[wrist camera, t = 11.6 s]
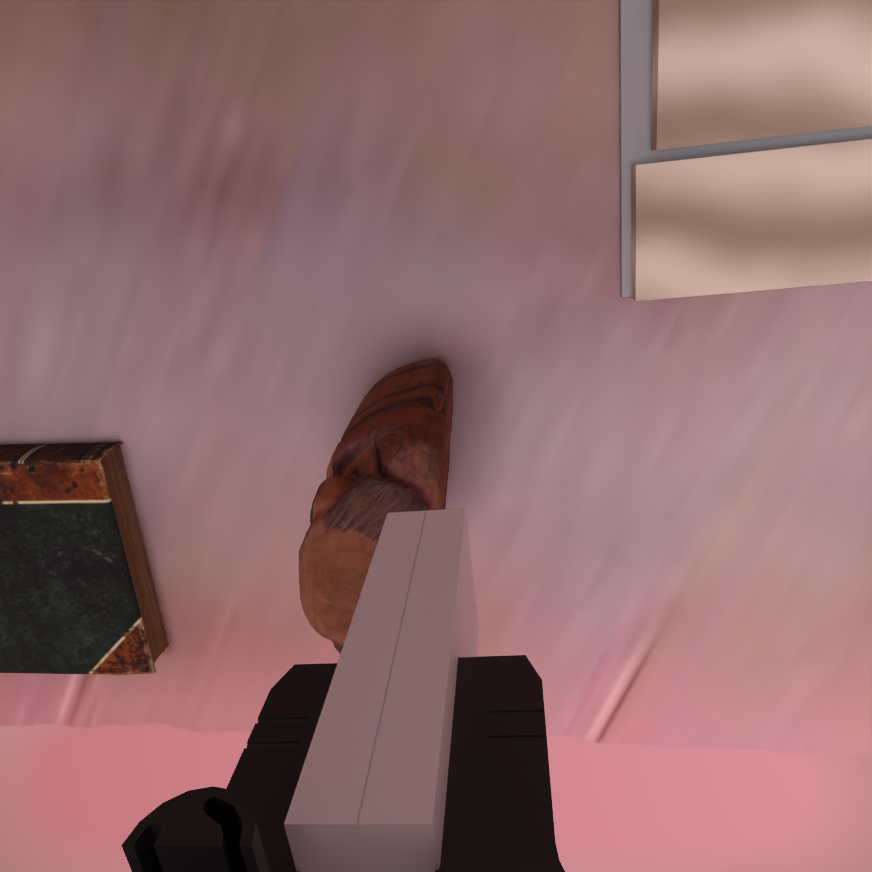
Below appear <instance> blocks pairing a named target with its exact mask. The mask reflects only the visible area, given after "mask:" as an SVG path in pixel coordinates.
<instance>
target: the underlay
mask: <svg viewBox="0 0 872 872" xmlns="http://www.w3.org/2000/svg"><path fill="white" fill-rule="evenodd" d="M619 9H620V220H621V297H622V298H625V297H631V165H640V164H649V163H658V162H667V161H676V160H685V159H694V158H703V157H712V156H721V155H729V154H738V153H747V152H756V151H765V150H774V149H783V148H792V147H801V146H810V145H819V144H828V143H837V142H846V141H855V140H864V139H872V126H865V127H856V128H847V129H838V130H829V131H821V132H812V133H803V134H794V135H785V136H777V137H768V138H759V139H750V140H741V141H733V142H724V143H715V144H706V145H697V146H688V147H680V148H671V149H662V150H651V102H652V38H653V0H619Z"/></svg>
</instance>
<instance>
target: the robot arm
mask: <svg viewBox="0 0 872 872" xmlns="http://www.w3.org/2000/svg"><path fill="white" fill-rule="evenodd" d="M477 646H478V619H477V610H476V601H475V592H474V582H473V573H472V564H471V555H470V546H469V537H468V528H467V519H466V509H465V508H461V509H444V510H427V511H410V512H393V513H387V516H386V519H385V522H384V525H383V528H382V531H381V534H380V537H379V540H378V543H377V546H376V549H375V552H374V555H373V558H372V561H371V564H370V567H369V570H368V573H367V576H366V579H365V582H364V585H363V588H362V591H361V594H360V597H359V600H358V603H357V606H356V609H355V612H354V615H353V618H352V621H351V624H350V627H349V630H348V633H347V636H346V639H345V642H344V645H343V648H342V651H341V654H340V657H339V660H338V663H334V664H301V665H294V666H293V667H292V668H291V669H290V670H289V671H288V672H287V673H286V674H285V675H284V676H283V677H282V678H281V679H280V680H279V681H278V682H277V683H276V684H275V686H274V687H273V688H272V689H271V690H270V692H269V694H268V697H267V699H266V701H265V703H264V706H263V708H262V710H261V712H260V715H259V717H258V724H255V726H254V728H253V730H252V733H251V735H250V737H249V739H248V742H247V748H246V749H244V751H243V753H242V755H241V757H240V760H239V762H238V764H237V766H236V769H235V771H234V774H233V775H232V777H231V780H230V782H229V784H228V786H227V789H224V788H218V787H208V788H202V789H197V790H191V791H187V792H185V793H183V794H181V795H179V796H177V797H175V798H172V799H170V800H168V801H166V802H164V803H162V804H161V805H160V806H159V807H157V808H156V809H155V810H154V811H152V812H151V813H150V814H149V815H147V816H146V817H145V818H144V819H142V820H141V821H140V822H139V823H138V825H137V826H136V827H135V829H134V830H133V831H132V833H131V834H130V835H129V836H128V838H127V839H126V840H125V842H124V843H123V844H122V847H123V850H124V852H125V855H126V857H127V860H128V862H129V865H130V868H131V870H132V872H565V871H564V869H563V867H562V865H561V863H560V861H559V857H558V853H557V848H556V844H555V835H554V822H553V811H552V798H551V787H550V774H549V762H548V749H547V738H546V725H545V713H544V701H543V689H542V680H541V678H540V676H539V675H538V673H537V672H536V670H535V669H534V667H533V666H532V664H531V663H530V661H529V660H528V658H527V657H526V655H519V656H487V657H477Z"/></svg>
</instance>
